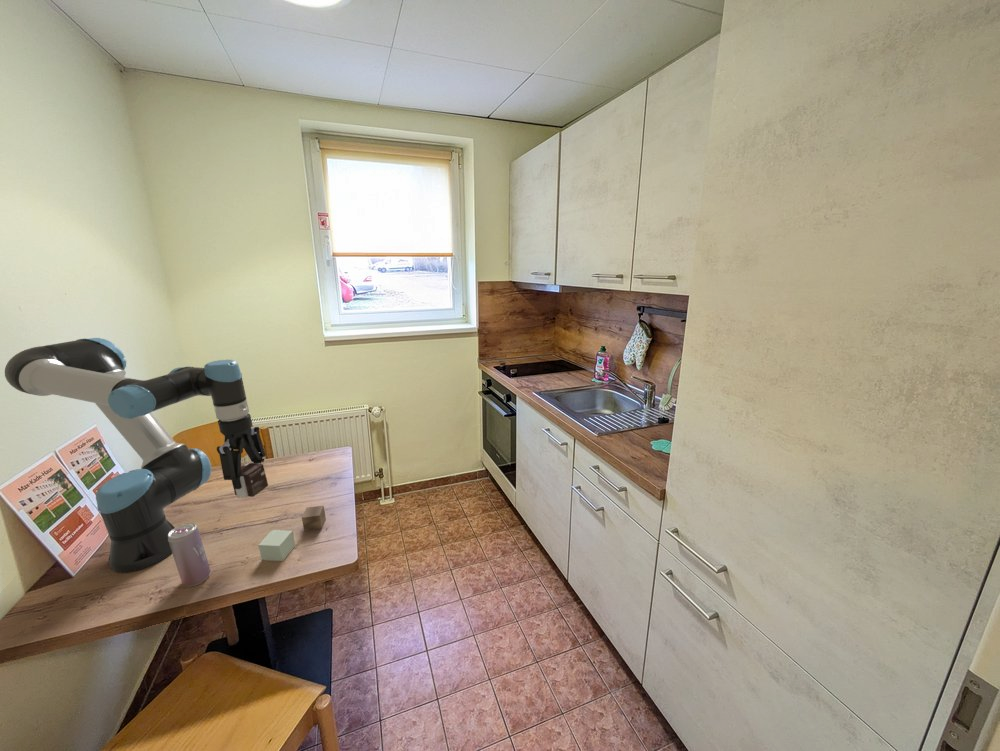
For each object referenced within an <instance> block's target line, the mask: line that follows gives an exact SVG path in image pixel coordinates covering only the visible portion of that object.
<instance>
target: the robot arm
mask: <svg viewBox="0 0 1000 751" xmlns="http://www.w3.org/2000/svg"><path fill="white" fill-rule="evenodd" d="M125 358H126V356H125V355H124V352H123V351H122V350H121V349H120V347H118V346H117V344H115V343H113V342H112V341H110V340H108V339H105V338H100V337H92V338H91V337H90V338H79V339H76V340H70V341H65V342H60V343H53V344H46V345H41V346H40V345H39V346H33V347H30V348H27V349H24V350H22V351H19V352H18V353H16V354H15V355H13V356H12V357H11V358H10V359H9V360H8V362H7V363H6V365H5V367H4V377H5V379H6V381H7V383H8V384H9V385H10V386H11V387H12V388H14V389H16V390H17V391H19V392H22V393H23V394H24V393H25V394H28V395H34V396H39V397H46V396H52V395H53V396H59V397H64V398H69V399H74V400H78V401H84V402H88V403H93V404H95V405H96V407H97V408H98V409H99V410H100V411H101V413H103V414H104V416H105V417H106V418H107V419H108V421H110V423H111V424H112V425H113V426H114V427H115V429H116V430H117V431H118V432H119V434H120V435H121V436H122V437H123V439H125V441H126V442H127V443H128V444H129V446H130V447H131V448H132V449H133V450H134V451H135V452H136V454H137V455H138V456H139V457H140V458H141V460H142V464H141V466H140V468H137V469H132V470H129V471H128V472H122V473H120V474H118V475H116V476H114V477H112V478H110V479H108V480H107V481H106V482H104V483H103V484H102V485H101V486H100V487H99V488H98V490H97V492H96V494H95V501H96V505H97V506H96V507H97V510H98V512H99V513H100V515H101V518H102V521H103V523H104V526H105V528H106V529H105V530H106V531H107V533H108V537H109V539H110V545H109V546H110V547H109V557H108V564H109V566H110V568H111V570H112V571H113V572H114V573H115V572H116V573H130V572H135V571H139V570H142V569H145V568H148V567H151V566H152V565H155V564H158V563H159V562H161V561H162V560H164V559H166V558H168V556H170V555H171V554H172V551H171V548H170V545H169V542H168V533H169V532H170V531H171V530H173V529H174V528H176V527H175V526H174V525H173V524H172V523H171V522H170V521H169V520H168V519H167V517H166V514H165V511H164V508H166V507H168V506H170V505H171V504H173V503H174V502H176V501H178V500H180V499H181V498H183V497H184V496H186V495H188V494H190V493H191V492H194V491H195V490H196V491H197V489H199V487H201V486H202V485H204V484H205V483H207V482H208V480H209V479H210V477H211V475H212V464H211V461H210V459H209V457H208V455H207V454H206V453H205V452H204V451H203V450H202V449H201V450H200V449H199V448H188V446H187V445H186V444H185V443H182V442H181V443H179V442H176V441H175V440H174V439H173V438H172V436H171V435H170V434H169V433H168V431H167V430H166V429H165V428H164V427H163V426H162V424H161V423H160V422H159V420H158V419H157V418H156V417H155V415H153V413H152V412H155V411H158V410H161V409H164V408H166V407H169V406H171V405H174V404H178V403H180V402H183V401H186V400H188V399H191V398H194V397H196V396H199V397H200V396H202V397H203V396H204V397H205V396H206V397H210V398H211V400H212V405H213V408H214V413H215V418H216V419H217V425H218V428H219V431H220V433H221V435H223V436H224V443H223V444H222V445H219V446H217V447H216V451H217V453H218V455H219V460H220V465H221V470H222V476H223V480H224V481H231V483H233V484H232V487H234V488H233V490H234V489H235V490H236V494H237V495H236V497H237V498H239V499H240V498H241V499H242V498H243V499H247V498H248V497H249V496H248V493H247V488H246V484H245V480H244V476H241V466H242V453H243V452H244V451H245V452H246V454H247V456H248V458H249V460H250V461H251V463H253V464H262V463H264V462H265V458H264V457H265V456H266V452H265V448H264V445H263V442H262V439H261V435H260V427H259V426H253V420H252V416H251V414H250V409H249V404H248V400H247V396H246V395H247V394H246V390H245V386H244V381H243V374H242V372H241V369H240V366H239V363H238V362H237V360H234V359H219V360H213V361H210V362H207V363H206V364H205V365H204V366H203V367H194V366H181V367H176V368H173V369H172V370H171V371H170V372H168V373H167V374H165V375H161V376H157V377H153V378H149V379H145V380H143V379H142V380H141V379H136V378H131V377H127V376H126V374H127V371H125V369H126V368H127V360H126V359H125Z"/></svg>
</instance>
